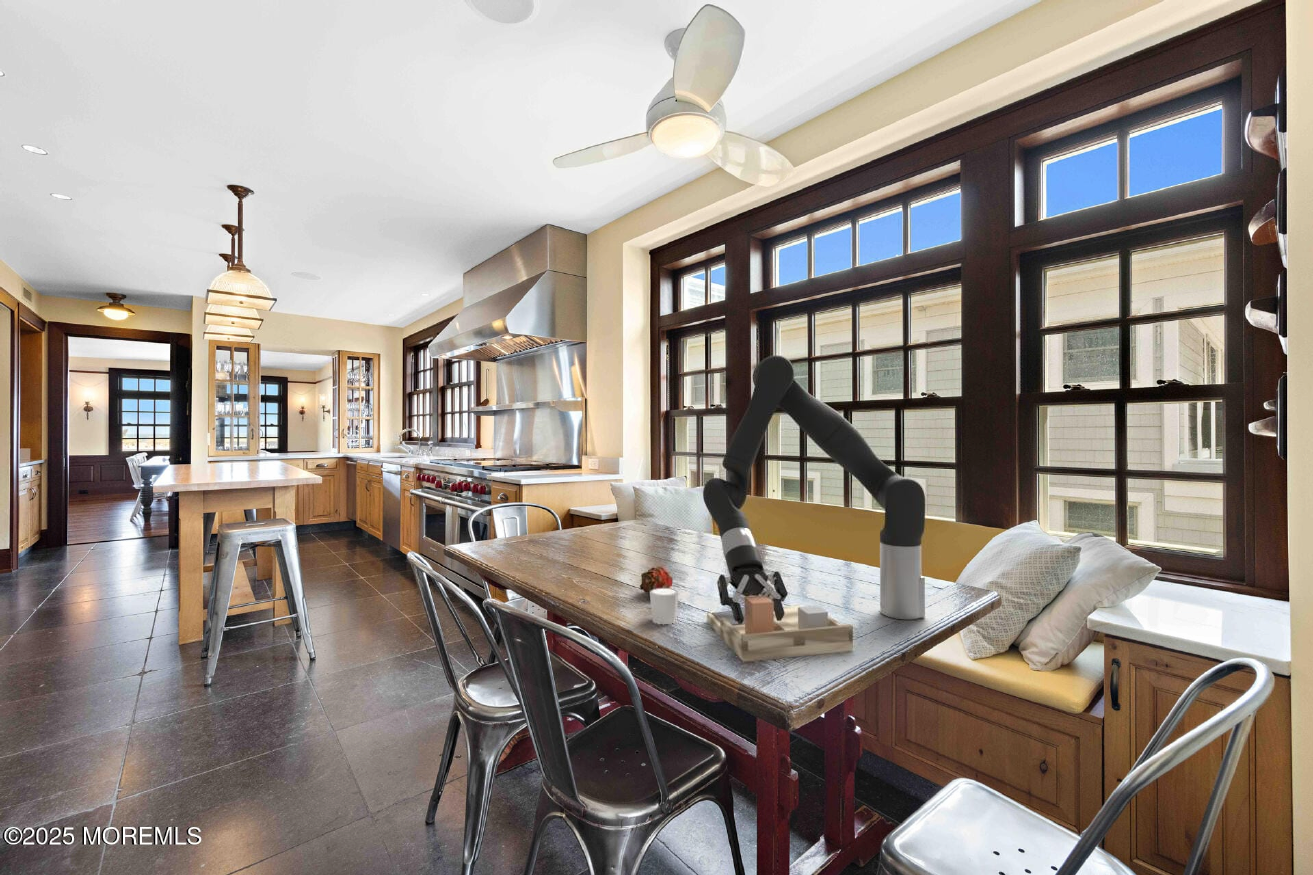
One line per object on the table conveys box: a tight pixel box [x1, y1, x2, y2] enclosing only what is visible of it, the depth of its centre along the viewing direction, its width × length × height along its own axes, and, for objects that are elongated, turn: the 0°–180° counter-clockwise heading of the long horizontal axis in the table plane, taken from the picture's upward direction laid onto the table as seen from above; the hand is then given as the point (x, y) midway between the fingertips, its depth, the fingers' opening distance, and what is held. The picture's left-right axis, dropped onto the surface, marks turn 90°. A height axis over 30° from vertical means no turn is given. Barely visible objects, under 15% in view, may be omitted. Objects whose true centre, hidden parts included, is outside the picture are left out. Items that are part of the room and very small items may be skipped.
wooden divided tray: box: [706, 605, 854, 663], centre depth 126 cm, size 24×24×5 cm
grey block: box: [798, 605, 829, 629], centre depth 122 cm, size 4×4×5 cm
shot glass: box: [649, 587, 680, 626], centre depth 137 cm, size 7×7×7 cm
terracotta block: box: [744, 595, 774, 634], centre depth 119 cm, size 4×4×8 cm
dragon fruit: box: [639, 565, 673, 596], centre depth 158 cm, size 8×8×12 cm
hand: (761, 620), depth 118 cm, fingers open, 8 cm apart
